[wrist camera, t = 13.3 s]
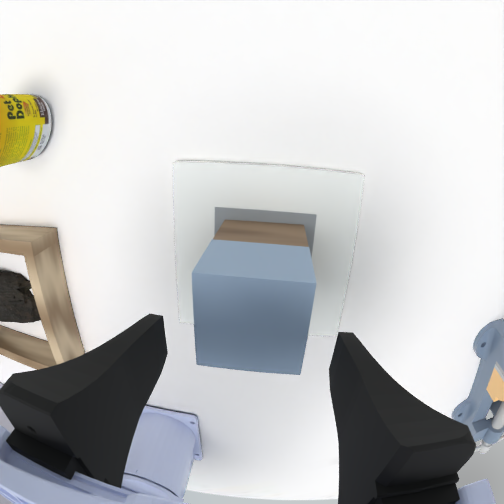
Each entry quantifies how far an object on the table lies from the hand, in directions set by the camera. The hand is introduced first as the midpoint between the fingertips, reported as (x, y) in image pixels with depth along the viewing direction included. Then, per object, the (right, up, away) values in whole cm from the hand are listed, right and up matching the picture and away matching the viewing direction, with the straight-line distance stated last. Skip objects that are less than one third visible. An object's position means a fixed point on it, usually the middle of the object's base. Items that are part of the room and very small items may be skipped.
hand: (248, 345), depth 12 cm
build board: (+1, +4, +9) cm, 10 cm away
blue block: (0, +2, +5) cm, 5 cm away
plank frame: (-31, 0, +14) cm, 34 cm away
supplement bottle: (-18, +14, +7) cm, 24 cm away
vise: (+27, -10, +13) cm, 32 cm away
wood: (-32, -1, +15) cm, 35 cm away
